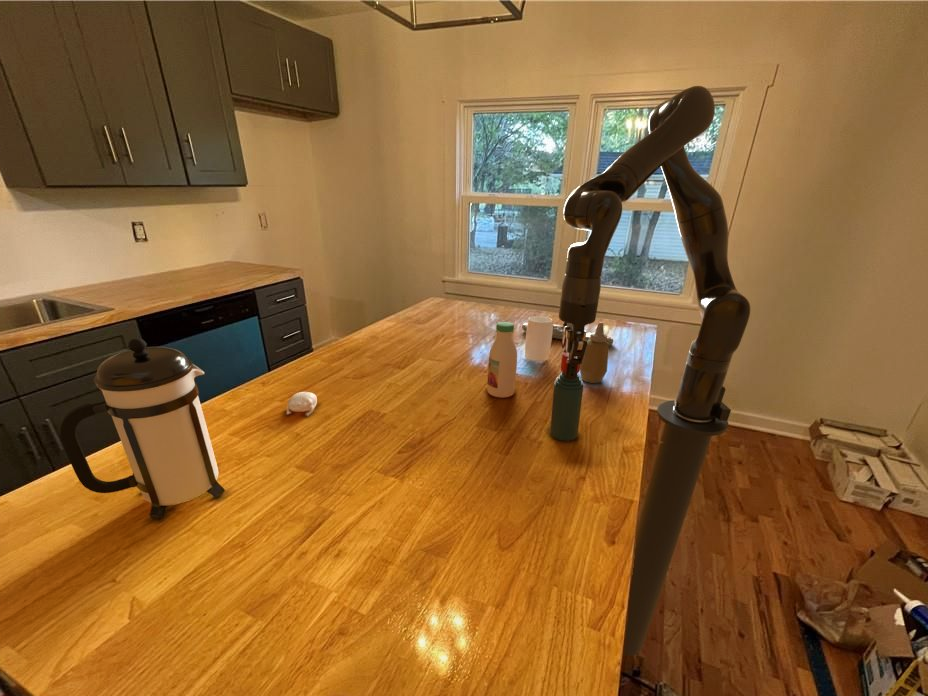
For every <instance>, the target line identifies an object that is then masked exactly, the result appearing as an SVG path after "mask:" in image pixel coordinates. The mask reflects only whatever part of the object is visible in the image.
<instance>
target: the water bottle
mask: <svg viewBox="0 0 928 696" xmlns="http://www.w3.org/2000/svg"><path fill="white" fill-rule="evenodd" d="M583 394H584V380H583V379H582V378H581V375H580V374H579V372H578V373H577V374H576V378H575V379H566V377H565V373H564V372H562V371H561V372H560V374H558V376H557V377H556V378H555V380H554V382H553V393H552V404H551V405H552V406H551V413H550V415H551V417H550V427H549V428H550V429H549V434H550V436H551V437H552V438H554V439H556V440H559V441H564V442H566V441H567V442H569V441H573V440H575V439H577V437H578V435H579V428H580V420H581V419H580V418H581V411H582V401H583Z"/></svg>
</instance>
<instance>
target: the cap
mask: <svg viewBox="0 0 928 696" xmlns="http://www.w3.org/2000/svg"><path fill="white" fill-rule="evenodd" d="M567 356H568V352H567V351H565V352H563V351H562V353H561V363H560V371H561V372H564V373H566V366H567ZM574 358H577V356H574ZM577 373H578V374H579V373H580V364H578V367H577Z"/></svg>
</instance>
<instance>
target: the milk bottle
mask: <svg viewBox="0 0 928 696" xmlns="http://www.w3.org/2000/svg"><path fill="white" fill-rule="evenodd" d="M495 329H496V331H495V332H496V336H495V339H494V340H493V343H492V345H491V346H490V349H489V353H488V354H489V355H488V365H487V366H488V367H487V382H486V383H487V384H486V390H487V391H486V392H487V393H488V394H489V395H490V396H492V397H495V398H501V399H503V398H509V397H511V396H513V395H514V394H515V391H516V380H517V367H518V349H517V346H516V344H515V341H514V335H513V334H514V332H515V331H514V330H515V324H514V323H513V322H510V321H500V322H497V323H496V327H495Z"/></svg>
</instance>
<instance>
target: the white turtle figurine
mask: <svg viewBox="0 0 928 696" xmlns="http://www.w3.org/2000/svg"><path fill="white" fill-rule="evenodd" d="M317 397H318V396H317V395H316V394H315V393H314V392H310V391H298V392H296V393H294V394H293V395H292V396H291V398H289V399H288V401H287V407H286V414H285V415H286V416H287V415H289V414H290V415H291V414H292V412H294V413H303V412H306V414H304V416H309V415H311V414H312V413H313V411H314V410H315V408H316V406H317V405H318V398H317Z"/></svg>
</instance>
